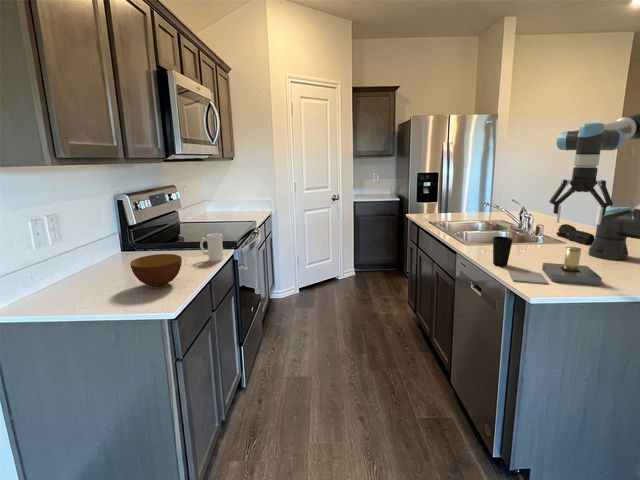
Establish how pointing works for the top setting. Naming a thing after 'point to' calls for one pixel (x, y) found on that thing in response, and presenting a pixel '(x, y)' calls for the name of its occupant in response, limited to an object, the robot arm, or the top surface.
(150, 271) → the bowl
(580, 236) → the black flashlight
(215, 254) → the mug
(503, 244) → the cup
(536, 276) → the mat
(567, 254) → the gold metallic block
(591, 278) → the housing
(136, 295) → the top surface
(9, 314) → the top surface
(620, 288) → the top surface
